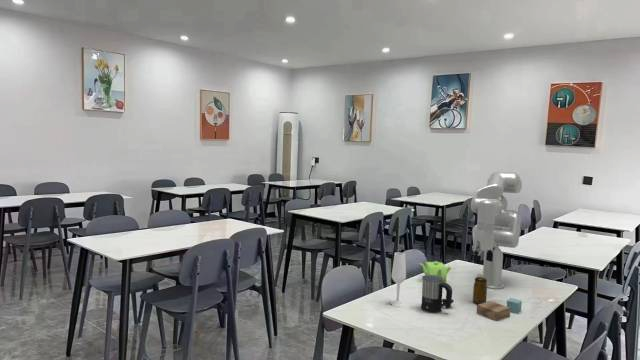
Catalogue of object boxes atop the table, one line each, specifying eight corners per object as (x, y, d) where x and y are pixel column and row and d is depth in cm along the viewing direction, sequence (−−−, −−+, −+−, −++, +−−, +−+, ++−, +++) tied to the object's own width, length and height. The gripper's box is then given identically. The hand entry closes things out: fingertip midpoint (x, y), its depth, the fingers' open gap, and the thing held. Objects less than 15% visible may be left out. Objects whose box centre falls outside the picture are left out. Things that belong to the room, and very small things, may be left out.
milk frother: (419, 311, 199) (420, 278, 198) (423, 300, 214) (425, 269, 212) (451, 316, 194) (453, 283, 193) (454, 304, 209) (455, 273, 208)
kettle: (440, 287, 233) (441, 267, 232) (416, 281, 243) (417, 261, 242) (453, 282, 244) (454, 262, 243) (430, 276, 253) (431, 257, 253)
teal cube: (506, 311, 203) (507, 300, 202) (509, 308, 206) (510, 297, 206) (517, 314, 199) (518, 303, 199) (520, 311, 203) (521, 300, 203)
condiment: (479, 299, 217) (480, 275, 216) (492, 305, 209) (494, 280, 208) (468, 301, 214) (469, 277, 213) (481, 307, 206) (483, 282, 205)
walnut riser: (476, 313, 198) (477, 304, 198) (489, 309, 204) (490, 300, 204) (496, 321, 190) (497, 312, 190) (509, 316, 196) (510, 307, 196)
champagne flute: (387, 303, 207) (389, 253, 205) (395, 300, 212) (397, 251, 210) (399, 307, 202) (402, 256, 200) (407, 304, 207) (410, 253, 205)
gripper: (489, 223, 216) (487, 258, 218) (467, 226, 206) (465, 262, 208) (503, 226, 210) (500, 261, 212) (481, 229, 200) (479, 266, 202)
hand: (483, 262), depth 210 cm, fingers open, 9 cm apart
